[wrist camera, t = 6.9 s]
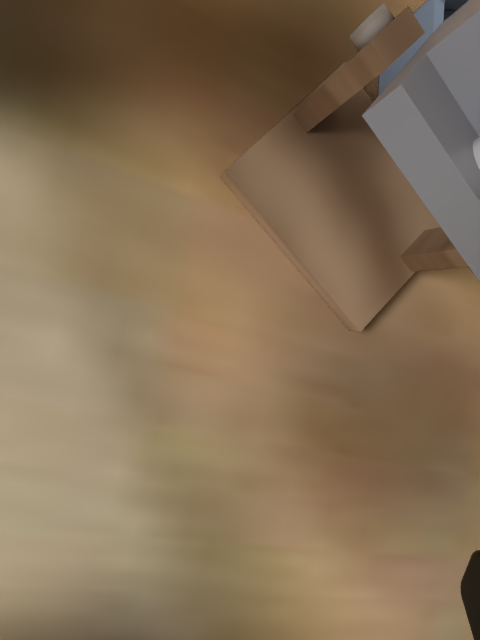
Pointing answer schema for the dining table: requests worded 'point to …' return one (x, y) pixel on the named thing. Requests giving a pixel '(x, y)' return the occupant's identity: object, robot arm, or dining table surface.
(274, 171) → the stand
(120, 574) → the dining table surface
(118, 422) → the dining table surface
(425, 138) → the tipper
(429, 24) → the blue bowl
